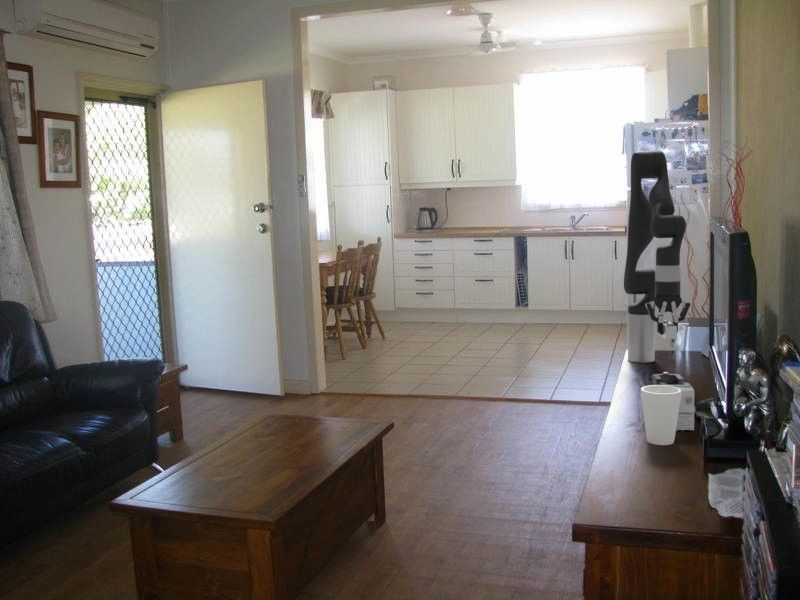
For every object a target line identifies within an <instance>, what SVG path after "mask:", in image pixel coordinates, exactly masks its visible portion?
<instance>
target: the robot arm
mask: <svg viewBox="0 0 800 600" xmlns="http://www.w3.org/2000/svg"><path fill="white" fill-rule="evenodd" d="M667 162H668V161H667V159H666V155H665V153H664V152H663V151H661V150H638V151H634V152H633V153H632V156H631V160H630V199H629V201H630V202H629V212H628V223H627V224H628V225H627V249H626V252H627V253H626V259H625V267H624V275H623V290H624V292H625V293H626V294H627V295H644V296H643V298H641V299H639V300H638V301H636V302H633V303H630V304H629V305H628V307H627V321H628V322H627V361H628V362H632V363H640V364H641V363H643V364H644V363H653V362H655V357H656V356H655V353H656V352H655V350H656V349H655V348H656V346H655V343H656V342H655V340H656V339H655V338H656V333H658V335H659V334H660V335H663V323H662V321H664V320H663V319H664V316H665V313H667V312H668V313H670V315H671V318H672V322H671V323H672V324H674V325H676V326H677V333H678V332H679V323H680V322H682V321H684V320H685V319H686V316H687V314H688V313H689V309H690V307H691V302H689V301H685V300H683V299H682V297H681V279H682V276H681V266H680V265H681V261H680V260H681V254H680V253H681V247H682V244H683V239H684V236H685V233H686V229H687V222H686V219H685V217H684V216H683V215H680V214H675V210H676V207H675V204H674V201H673V198H672V195H671V191H670V181H669V180H670V179H669V170H668V163H667ZM645 179H647V180H648V179H657V181H656V182H655V184H654V185H653V186H652V188H651V189H650V191H649V195H648V198H647V197H646V194H645V192H644V189H643V185H642V180H645ZM654 238H656V239H671V241H670V243H668V244H665V245H661V246H658V247H656V250H655V256H656V257H655V269H654V268H653V267H652V268H651V267H649V268H647V267H645V268H644V267H643V268H641V267H639V268H637V265H638V261H639V260H640V258H641V256H642V254H643V253H644V252H645V250H646V249H647V248H648V246H649V245H650V244H651V243H652V242H653V239H654ZM680 305H681V308H682V309H681V311H680V314H679V315H678V308H679V306H680ZM656 307H657V309H658V311H657V317H656ZM656 326H657V327H656ZM655 328H656V329H655ZM655 331H657V332H655ZM660 335H659V336H660Z"/></svg>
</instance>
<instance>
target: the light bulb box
mask: <svg viewBox="0 0 800 600" xmlns="http://www.w3.org/2000/svg"><path fill="white" fill-rule="evenodd" d="M649 385H650V384H648V385H647V386H649ZM667 386H674V387H677V388H680V389H681V390H682V396H681V401H680V407H679V414H678V420H677V427H676V432H677V431H678V430H681V431H682V430H683V431H684V430H690V431H691V430H692V431H695V389H693V388H694V387H693V388H691V387H690V386H689V385H688V384H687V385H675V384H667ZM681 431H680V432H681Z"/></svg>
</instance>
